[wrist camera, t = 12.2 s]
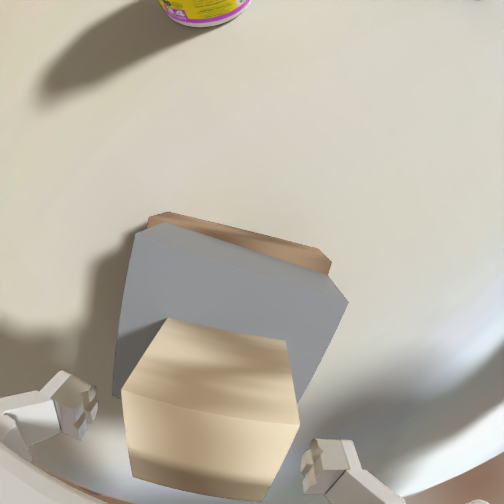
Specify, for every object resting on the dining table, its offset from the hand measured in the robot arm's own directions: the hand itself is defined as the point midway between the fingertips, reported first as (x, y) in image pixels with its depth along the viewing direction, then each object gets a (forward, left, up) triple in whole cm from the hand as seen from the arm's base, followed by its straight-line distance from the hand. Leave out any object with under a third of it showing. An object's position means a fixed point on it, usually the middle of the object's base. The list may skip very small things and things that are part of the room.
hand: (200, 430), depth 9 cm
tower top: (0, -1, -8) cm, 8 cm away
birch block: (0, 0, -4) cm, 4 cm away
